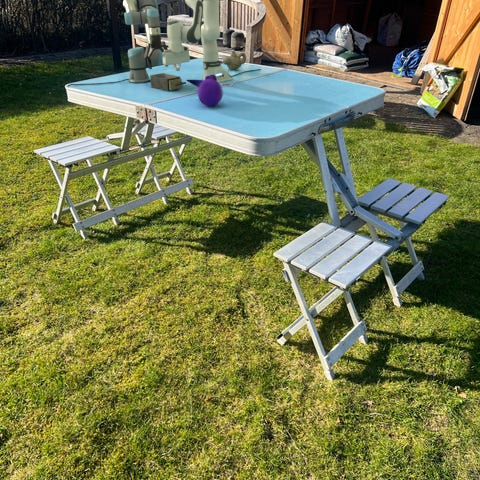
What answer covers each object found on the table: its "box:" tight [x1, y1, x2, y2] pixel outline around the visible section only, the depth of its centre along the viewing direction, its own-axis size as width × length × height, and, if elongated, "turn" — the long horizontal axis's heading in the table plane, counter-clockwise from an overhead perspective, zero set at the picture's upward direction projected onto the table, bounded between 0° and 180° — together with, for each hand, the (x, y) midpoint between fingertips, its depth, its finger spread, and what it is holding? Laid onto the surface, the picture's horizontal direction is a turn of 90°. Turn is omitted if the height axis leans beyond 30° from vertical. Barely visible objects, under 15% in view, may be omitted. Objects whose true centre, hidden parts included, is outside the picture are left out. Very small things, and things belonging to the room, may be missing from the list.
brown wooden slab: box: [149, 72, 182, 92], centre depth 314 cm, size 20×11×8 cm, turn 44°
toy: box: [185, 75, 224, 107], centre depth 270 cm, size 16×18×27 cm
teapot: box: [222, 50, 247, 71], centre depth 368 cm, size 21×12×15 cm, turn 120°
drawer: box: [168, 77, 187, 91], centre depth 311 cm, size 24×10×6 cm, turn 44°
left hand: (158, 67), depth 314 cm, fingers open, 13 cm apart
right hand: (177, 70), depth 301 cm, fingers closed
